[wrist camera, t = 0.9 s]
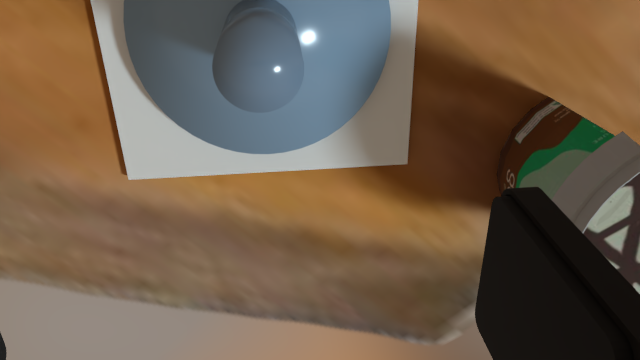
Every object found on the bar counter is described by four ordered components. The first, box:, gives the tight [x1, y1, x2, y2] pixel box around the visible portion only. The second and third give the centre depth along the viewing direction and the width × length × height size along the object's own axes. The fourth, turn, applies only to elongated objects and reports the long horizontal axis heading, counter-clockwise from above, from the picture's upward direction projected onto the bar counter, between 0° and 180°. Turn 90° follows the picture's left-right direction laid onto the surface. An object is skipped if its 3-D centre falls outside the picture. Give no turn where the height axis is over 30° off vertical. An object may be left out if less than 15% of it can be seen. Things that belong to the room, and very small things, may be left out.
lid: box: [123, 0, 391, 154], centre depth 24 cm, size 13×13×7 cm
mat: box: [91, 0, 418, 180], centre depth 27 cm, size 16×16×1 cm
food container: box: [497, 97, 640, 294], centre depth 29 cm, size 12×6×10 cm, turn 33°
